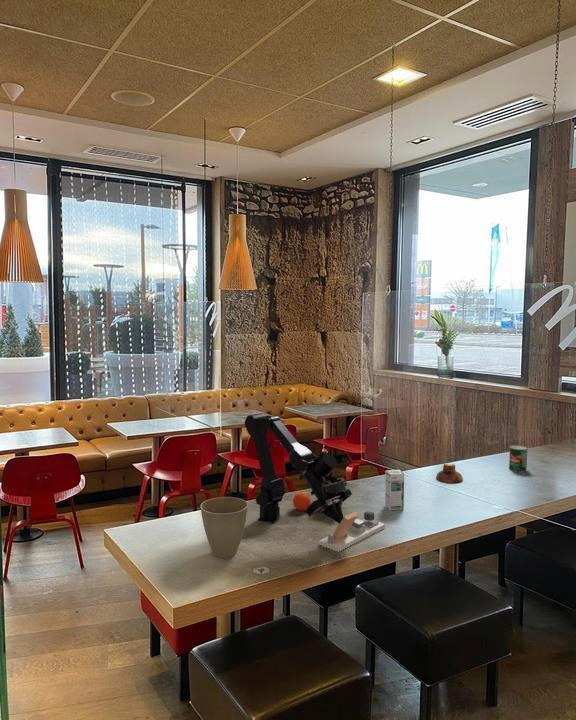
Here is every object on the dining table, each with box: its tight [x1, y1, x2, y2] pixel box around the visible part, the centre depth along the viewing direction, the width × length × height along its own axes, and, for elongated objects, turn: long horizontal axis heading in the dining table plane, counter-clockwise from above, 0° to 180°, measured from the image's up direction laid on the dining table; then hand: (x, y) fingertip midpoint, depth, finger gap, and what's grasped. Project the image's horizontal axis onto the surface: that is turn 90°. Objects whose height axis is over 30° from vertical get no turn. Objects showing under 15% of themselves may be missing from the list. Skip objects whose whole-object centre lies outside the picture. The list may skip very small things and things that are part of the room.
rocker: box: [352, 517, 364, 527], centre depth 195 cm, size 4×3×1 cm
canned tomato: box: [508, 444, 528, 473], centre depth 274 cm, size 8×8×11 cm
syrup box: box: [384, 469, 405, 511], centre depth 222 cm, size 6×6×14 cm
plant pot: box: [199, 496, 249, 559], centre depth 180 cm, size 15×15×16 cm
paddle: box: [331, 511, 359, 541], centre depth 186 cm, size 2×6×11 cm
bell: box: [435, 463, 464, 484], centre depth 259 cm, size 12×12×7 cm
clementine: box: [292, 491, 312, 511], centre depth 219 cm, size 8×7×7 cm
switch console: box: [318, 518, 386, 553], centre depth 194 cm, size 8×27×4 cm, turn 138°
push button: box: [363, 510, 375, 521], centre depth 201 cm, size 4×4×2 cm
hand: (343, 524), depth 186 cm, fingers closed, pressing on paddle
